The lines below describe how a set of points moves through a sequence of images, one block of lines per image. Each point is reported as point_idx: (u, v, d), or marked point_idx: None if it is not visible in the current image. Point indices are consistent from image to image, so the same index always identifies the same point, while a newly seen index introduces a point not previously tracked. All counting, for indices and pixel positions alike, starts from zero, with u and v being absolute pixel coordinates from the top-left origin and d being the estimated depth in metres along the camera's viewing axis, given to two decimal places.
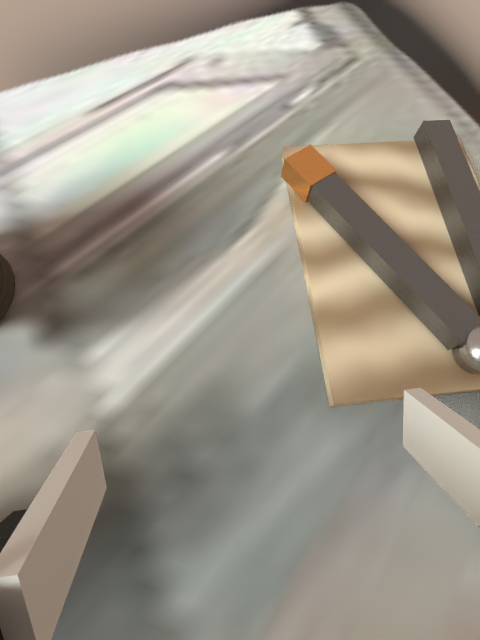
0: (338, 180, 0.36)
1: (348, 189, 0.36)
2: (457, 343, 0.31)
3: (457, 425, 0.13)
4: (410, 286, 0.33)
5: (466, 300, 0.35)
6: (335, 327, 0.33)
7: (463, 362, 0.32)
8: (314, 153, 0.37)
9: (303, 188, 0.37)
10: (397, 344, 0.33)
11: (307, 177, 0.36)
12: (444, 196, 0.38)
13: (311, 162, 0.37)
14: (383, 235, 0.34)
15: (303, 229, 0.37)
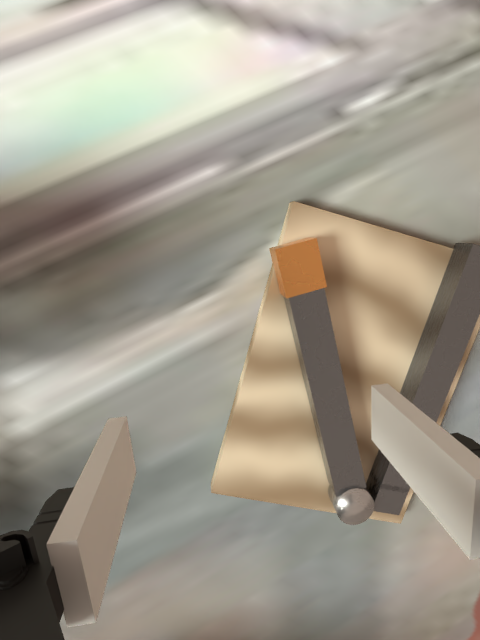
0: (322, 300, 0.30)
1: (326, 315, 0.31)
2: (333, 490, 0.35)
3: (415, 418, 0.14)
4: (323, 438, 0.33)
5: (374, 444, 0.37)
6: (243, 434, 0.35)
7: (330, 499, 0.36)
8: (314, 253, 0.29)
9: (281, 288, 0.31)
10: (289, 463, 0.36)
11: (288, 285, 0.30)
12: (426, 345, 0.34)
13: (304, 265, 0.29)
14: (330, 381, 0.32)
15: (262, 325, 0.33)
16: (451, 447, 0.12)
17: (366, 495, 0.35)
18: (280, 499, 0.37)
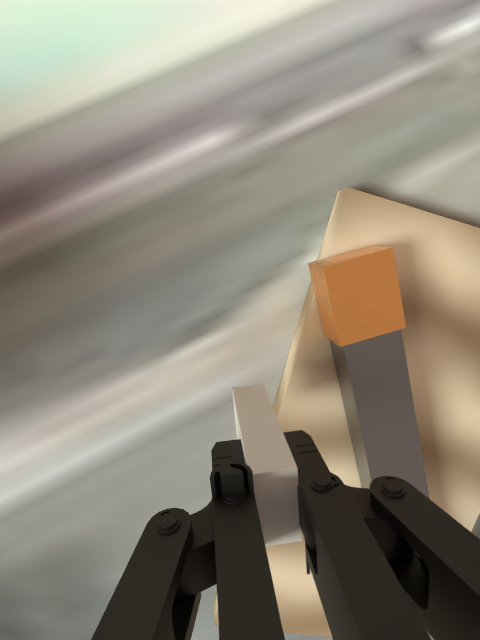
0: (396, 348, 0.19)
1: (403, 373, 0.19)
2: None
3: (263, 416, 0.15)
4: None
5: None
6: None
7: None
8: (387, 273, 0.18)
9: (329, 328, 0.19)
10: None
11: (344, 325, 0.18)
12: None
13: (370, 292, 0.18)
14: (403, 473, 0.20)
15: (294, 383, 0.21)
16: (274, 442, 0.13)
17: None
18: (316, 629, 0.25)
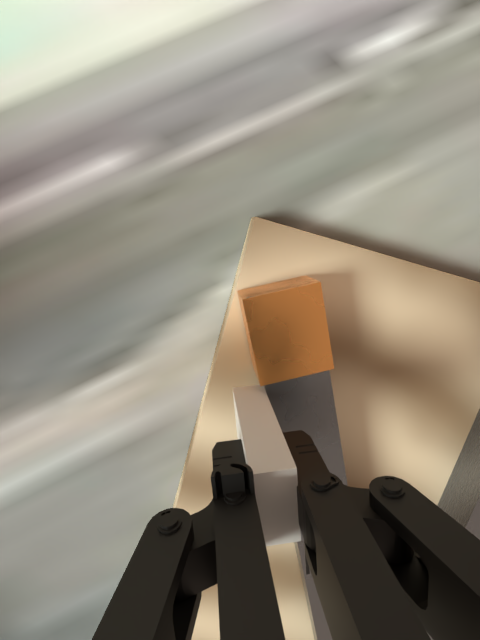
0: (323, 390, 0.17)
1: (331, 416, 0.17)
2: None
3: (262, 416, 0.15)
4: (313, 609, 0.20)
5: None
6: None
7: None
8: (314, 309, 0.16)
9: (254, 363, 0.17)
10: None
11: (265, 363, 0.16)
12: None
13: (295, 329, 0.16)
14: None
15: (205, 424, 0.20)
16: (273, 442, 0.13)
17: None
18: None
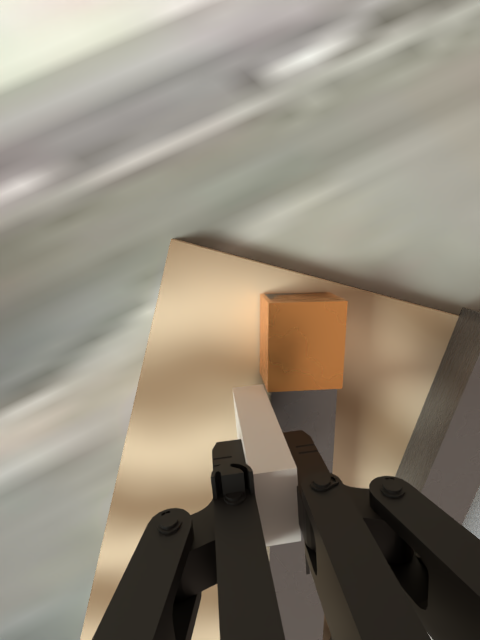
0: (327, 408, 0.17)
1: (328, 435, 0.17)
2: None
3: (262, 416, 0.15)
4: None
5: None
6: None
7: None
8: (336, 327, 0.16)
9: (263, 368, 0.17)
10: None
11: (277, 370, 0.16)
12: (412, 477, 0.20)
13: (313, 343, 0.16)
14: None
15: (130, 447, 0.19)
16: (273, 442, 0.13)
17: None
18: None
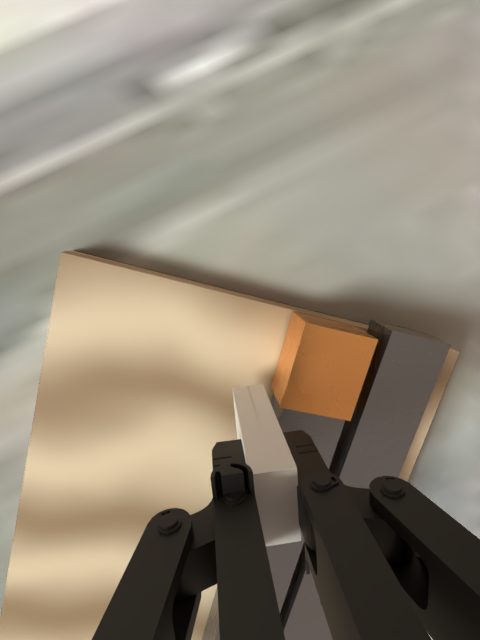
0: (331, 436, 0.17)
1: (325, 462, 0.18)
2: None
3: (262, 416, 0.15)
4: (217, 636, 0.19)
5: None
6: (26, 627, 0.21)
7: None
8: (360, 361, 0.17)
9: (279, 383, 0.18)
10: None
11: (295, 389, 0.17)
12: None
13: (336, 371, 0.17)
14: (275, 559, 0.19)
15: (32, 463, 0.19)
16: (273, 442, 0.13)
17: None
18: None
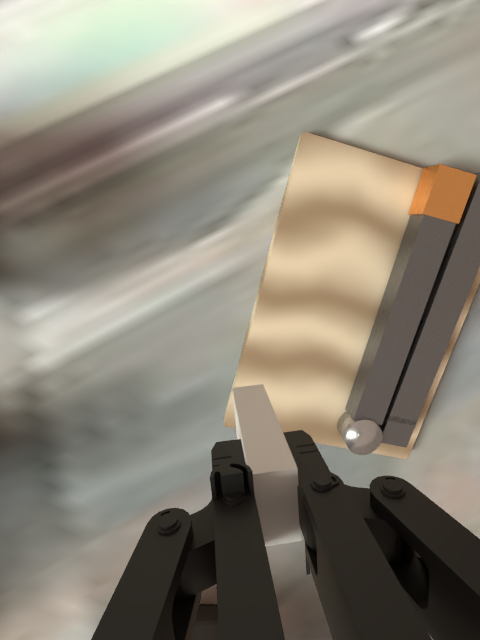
0: (447, 233, 0.32)
1: (443, 249, 0.32)
2: (351, 415, 0.36)
3: (263, 416, 0.15)
4: (375, 360, 0.34)
5: None
6: (255, 368, 0.36)
7: (341, 424, 0.37)
8: (466, 187, 0.31)
9: (418, 205, 0.32)
10: (300, 397, 0.37)
11: (430, 203, 0.31)
12: None
13: (453, 193, 0.31)
14: (411, 310, 0.33)
15: (273, 259, 0.34)
16: (274, 442, 0.13)
17: (379, 431, 0.36)
18: None
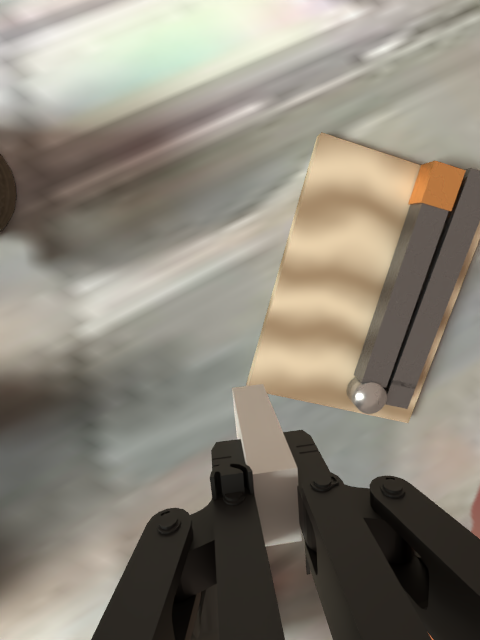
0: (441, 219, 0.38)
1: (438, 233, 0.38)
2: (359, 379, 0.41)
3: (263, 416, 0.15)
4: (380, 329, 0.40)
5: None
6: (276, 337, 0.41)
7: (350, 388, 0.43)
8: (457, 180, 0.37)
9: (417, 196, 0.38)
10: (314, 364, 0.43)
11: (427, 193, 0.37)
12: None
13: (446, 185, 0.37)
14: (411, 286, 0.39)
15: (293, 240, 0.39)
16: (274, 442, 0.13)
17: (384, 392, 0.41)
18: (306, 397, 0.43)
